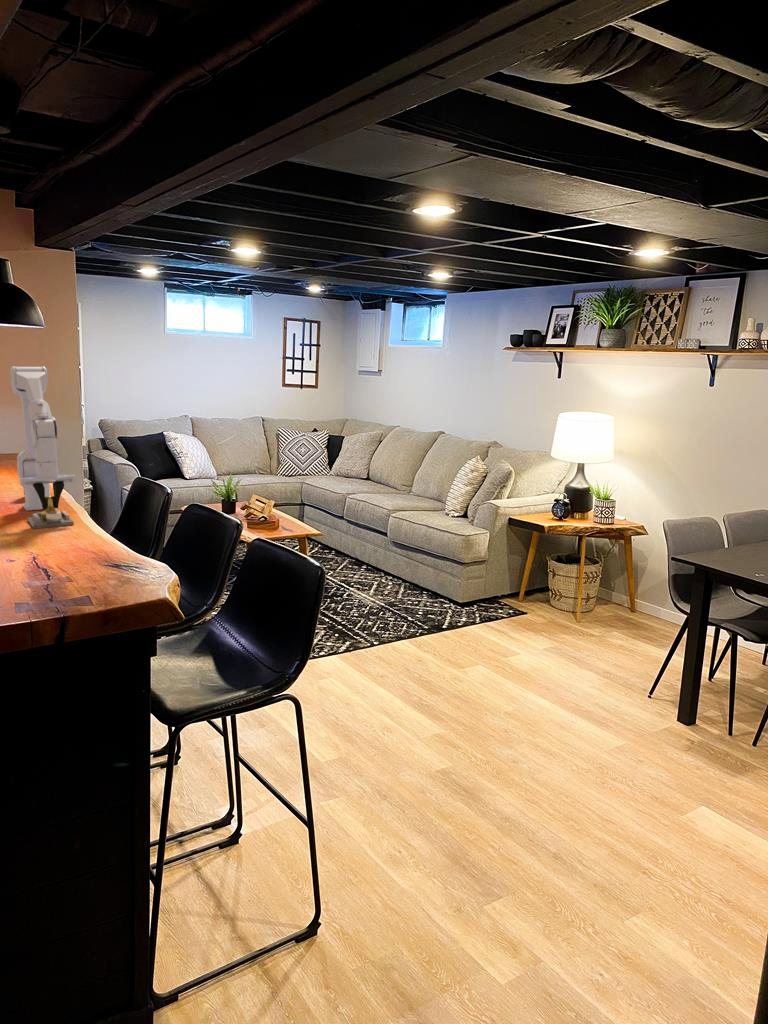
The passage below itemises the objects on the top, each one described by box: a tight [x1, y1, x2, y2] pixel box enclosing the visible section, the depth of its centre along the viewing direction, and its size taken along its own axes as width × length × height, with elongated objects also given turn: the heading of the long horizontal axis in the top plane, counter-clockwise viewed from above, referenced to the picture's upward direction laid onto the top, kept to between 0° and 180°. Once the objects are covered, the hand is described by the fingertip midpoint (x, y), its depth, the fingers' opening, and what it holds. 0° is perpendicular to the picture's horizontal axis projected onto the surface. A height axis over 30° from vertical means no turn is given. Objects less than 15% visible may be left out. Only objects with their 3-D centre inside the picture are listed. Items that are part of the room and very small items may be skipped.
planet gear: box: [41, 495, 61, 519], centre depth 220 cm, size 5×5×6 cm
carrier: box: [26, 509, 74, 530], centre depth 219 cm, size 12×10×4 cm
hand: (50, 508), depth 220 cm, fingers closed on planet gear, 3 cm apart
